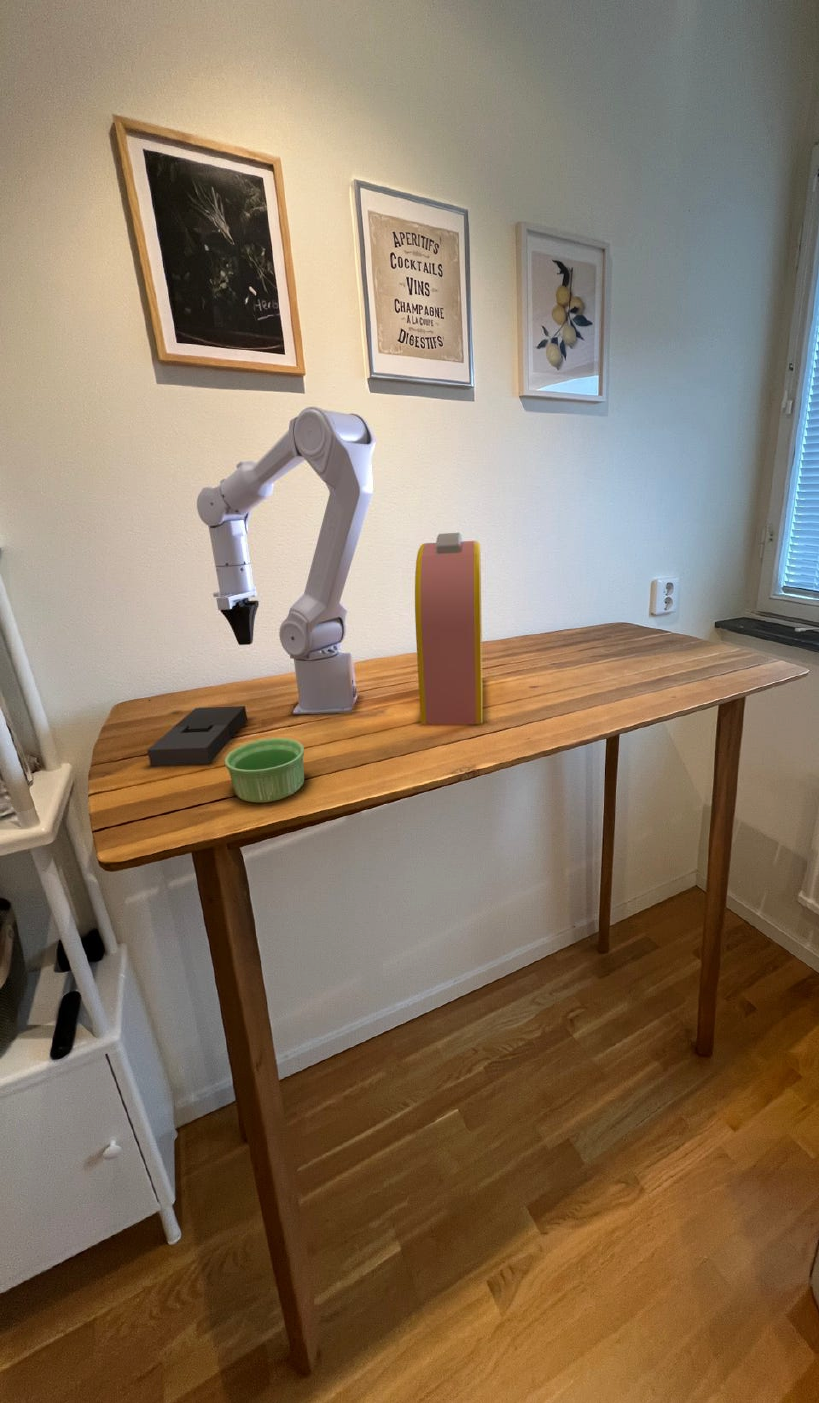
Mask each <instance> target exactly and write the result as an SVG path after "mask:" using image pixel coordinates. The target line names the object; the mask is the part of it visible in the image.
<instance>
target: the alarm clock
mask: <svg viewBox="0 0 819 1403" xmlns="http://www.w3.org/2000/svg"><path fill="white" fill-rule="evenodd" d="M481 562H482V561H481V543H480V542H478V541H477V540H466V541H465V540H464V541H463V537H462V534H461V533H460V532H447V533H439V534H438V535H437V536H436V541H435V542H426V543H422V544H421V545H419V547H418V551H417V554H416V560H415V572H414V573H415V574H414V617H415V618H414V619H415V621H414V622H415V641H416V660H417V662H416V663H417V677H418V695H419V696H418V697H419V698H418V699H419V715H420V724H422V725H479V724H483V640H482V639H483V638H482V637H483V636H482V633H483V632H482V630H483V629H482V567H481V566H482V564H481Z"/></svg>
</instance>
